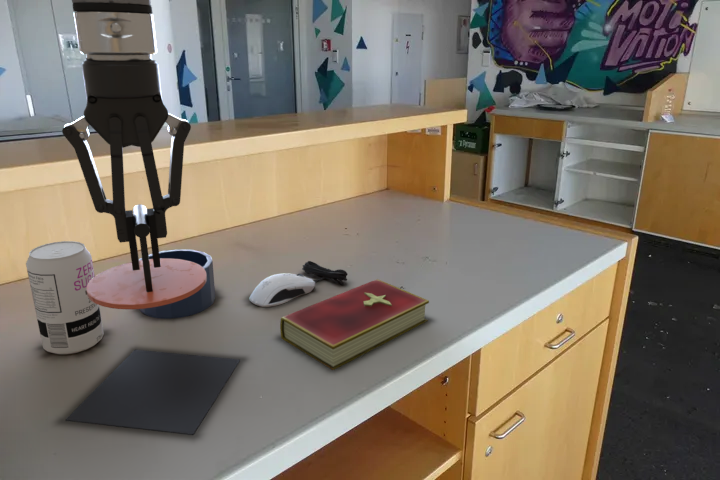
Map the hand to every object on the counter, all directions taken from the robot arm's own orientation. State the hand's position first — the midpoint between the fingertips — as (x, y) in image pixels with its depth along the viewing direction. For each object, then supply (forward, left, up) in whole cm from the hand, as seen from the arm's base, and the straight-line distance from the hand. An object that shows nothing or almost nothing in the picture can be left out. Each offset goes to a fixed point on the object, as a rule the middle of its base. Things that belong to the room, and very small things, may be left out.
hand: (146, 264), depth 66 cm
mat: (0, 0, -18) cm, 18 cm away
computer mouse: (+10, +32, -18) cm, 38 cm away
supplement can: (-18, +9, -18) cm, 27 cm away
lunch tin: (-9, +24, -18) cm, 31 cm away
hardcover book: (+23, +20, -18) cm, 35 cm away
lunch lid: (0, 0, -3) cm, 3 cm away
